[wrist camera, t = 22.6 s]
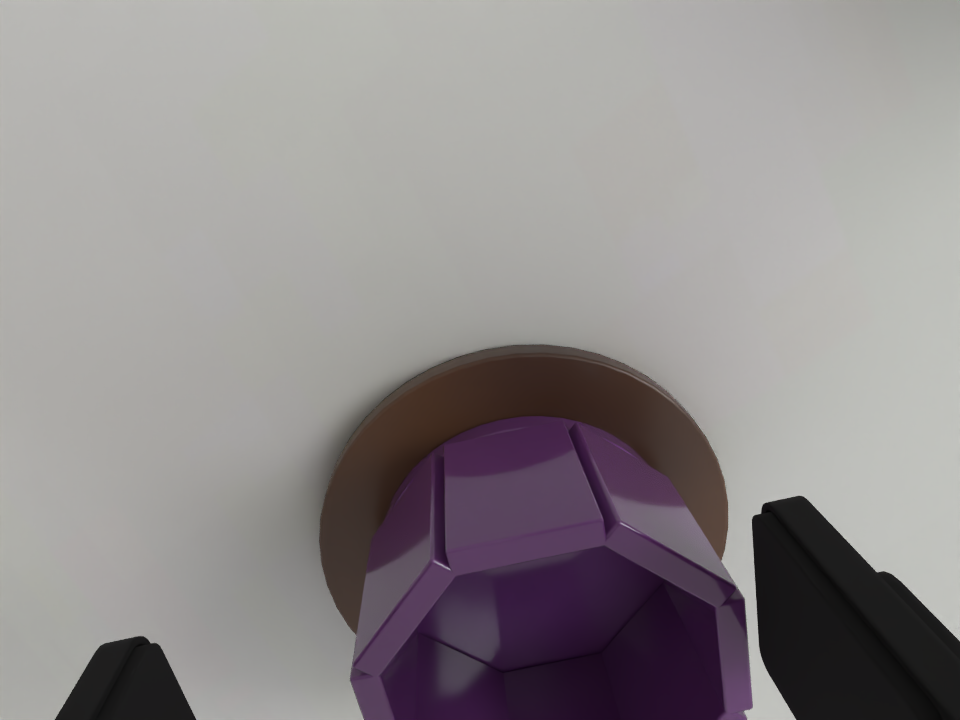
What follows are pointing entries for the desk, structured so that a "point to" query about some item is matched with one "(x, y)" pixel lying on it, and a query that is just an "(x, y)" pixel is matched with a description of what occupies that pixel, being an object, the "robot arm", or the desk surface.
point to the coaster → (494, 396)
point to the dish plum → (546, 588)
